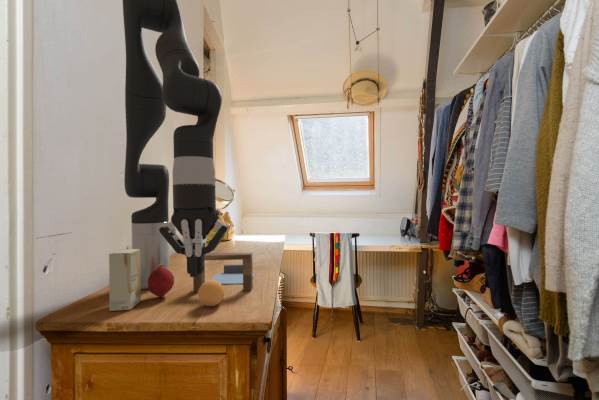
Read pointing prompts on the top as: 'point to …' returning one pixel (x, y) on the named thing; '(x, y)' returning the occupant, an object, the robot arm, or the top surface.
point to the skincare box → (124, 279)
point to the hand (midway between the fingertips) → (196, 276)
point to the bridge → (229, 256)
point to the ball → (211, 293)
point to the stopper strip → (233, 268)
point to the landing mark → (229, 278)
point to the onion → (160, 281)
